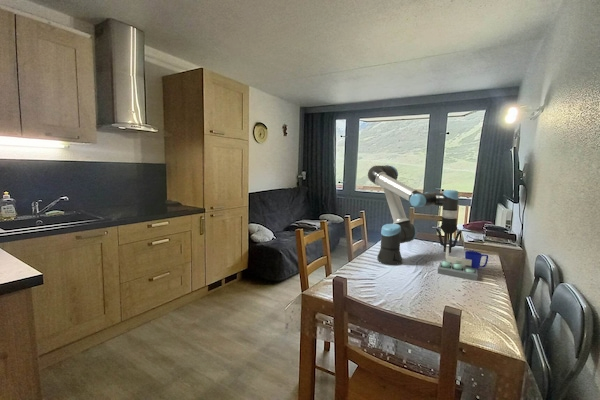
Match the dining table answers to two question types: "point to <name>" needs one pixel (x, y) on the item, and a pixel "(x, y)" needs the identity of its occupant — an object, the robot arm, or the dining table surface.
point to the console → (458, 272)
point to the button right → (469, 270)
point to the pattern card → (459, 261)
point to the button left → (445, 264)
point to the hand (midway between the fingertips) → (447, 257)
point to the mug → (475, 258)
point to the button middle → (457, 266)
